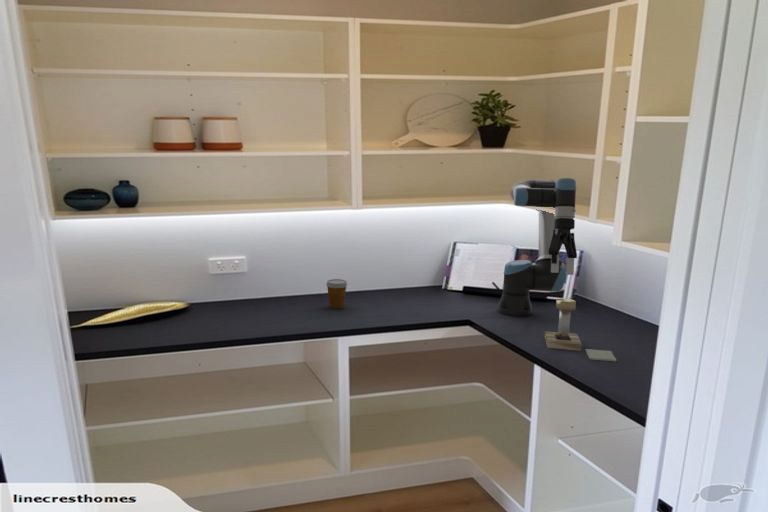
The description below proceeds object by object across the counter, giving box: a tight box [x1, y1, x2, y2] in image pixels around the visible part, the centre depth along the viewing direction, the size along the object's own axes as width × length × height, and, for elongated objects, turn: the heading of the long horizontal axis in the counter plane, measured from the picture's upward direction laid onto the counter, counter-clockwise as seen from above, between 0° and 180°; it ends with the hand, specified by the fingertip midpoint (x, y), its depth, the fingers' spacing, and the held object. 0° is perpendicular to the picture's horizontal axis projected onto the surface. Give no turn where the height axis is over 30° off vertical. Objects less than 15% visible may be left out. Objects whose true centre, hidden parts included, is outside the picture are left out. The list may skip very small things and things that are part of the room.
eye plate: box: [544, 331, 583, 352], centre depth 214 cm, size 12×12×2 cm
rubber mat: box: [584, 348, 617, 363], centre depth 203 cm, size 9×9×1 cm
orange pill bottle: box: [326, 278, 348, 310], centre depth 255 cm, size 10×10×12 cm
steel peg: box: [555, 298, 577, 340], centre depth 213 cm, size 7×7×17 cm
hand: (562, 273), depth 215 cm, fingers open, 13 cm apart
